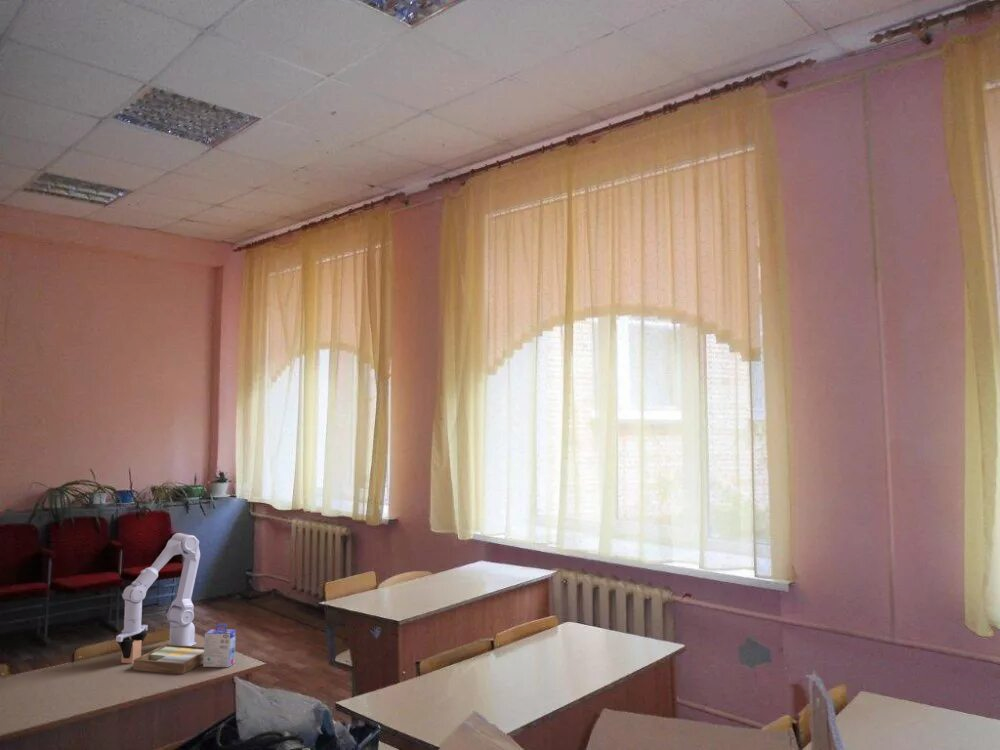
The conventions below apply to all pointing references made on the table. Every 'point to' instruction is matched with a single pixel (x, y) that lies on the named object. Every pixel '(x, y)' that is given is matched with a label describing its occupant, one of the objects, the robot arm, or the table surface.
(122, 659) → the terracotta block
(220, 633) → the ink cartridge box
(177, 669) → the puzzle tray
